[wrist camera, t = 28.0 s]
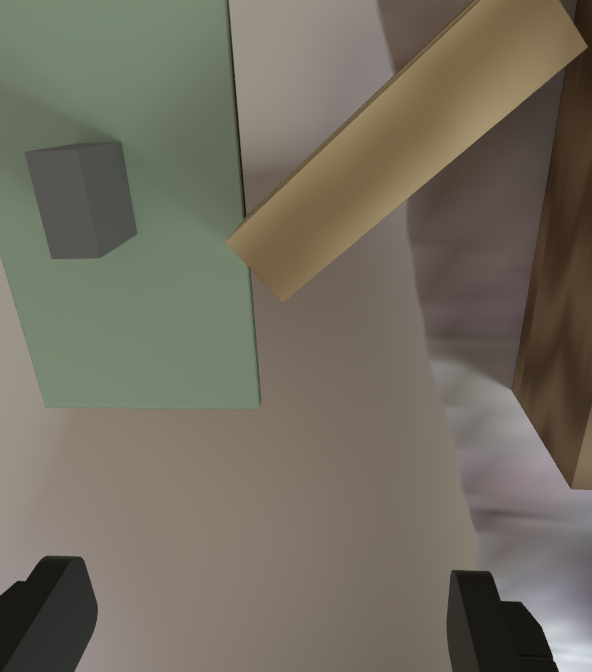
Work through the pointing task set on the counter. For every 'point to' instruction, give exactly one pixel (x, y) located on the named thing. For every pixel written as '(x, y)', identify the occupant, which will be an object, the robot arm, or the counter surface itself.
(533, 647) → the robot arm
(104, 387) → the lid
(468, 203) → the counter surface
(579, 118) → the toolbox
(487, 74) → the tan block
